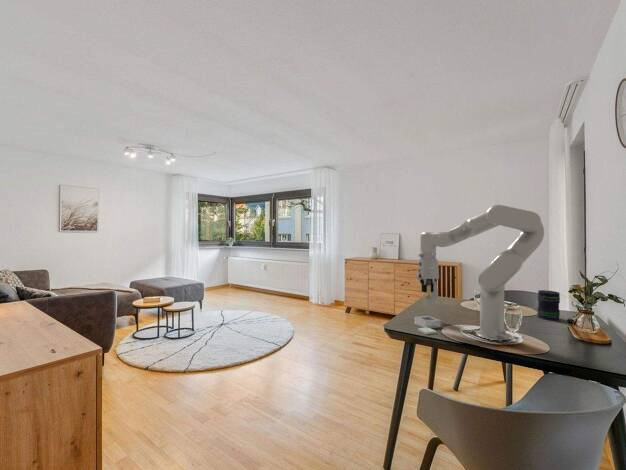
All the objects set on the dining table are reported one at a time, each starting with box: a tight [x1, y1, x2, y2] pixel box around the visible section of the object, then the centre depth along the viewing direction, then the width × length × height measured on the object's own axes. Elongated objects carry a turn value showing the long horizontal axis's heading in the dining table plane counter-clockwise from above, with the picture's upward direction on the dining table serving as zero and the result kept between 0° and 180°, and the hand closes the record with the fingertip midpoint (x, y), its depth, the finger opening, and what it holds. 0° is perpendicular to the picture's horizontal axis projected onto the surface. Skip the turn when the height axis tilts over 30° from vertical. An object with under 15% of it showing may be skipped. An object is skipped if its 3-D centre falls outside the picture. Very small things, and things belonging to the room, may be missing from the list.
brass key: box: [423, 279, 431, 299], centre depth 156 cm, size 4×4×10 cm
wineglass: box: [422, 281, 438, 317], centre depth 167 cm, size 8×8×21 cm
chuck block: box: [414, 315, 442, 329], centre depth 157 cm, size 12×9×4 cm
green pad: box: [417, 327, 437, 335], centre depth 145 cm, size 6×6×1 cm
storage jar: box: [537, 289, 561, 322], centre depth 171 cm, size 10×10×15 cm
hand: (427, 291), depth 156 cm, fingers closed on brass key, 3 cm apart
